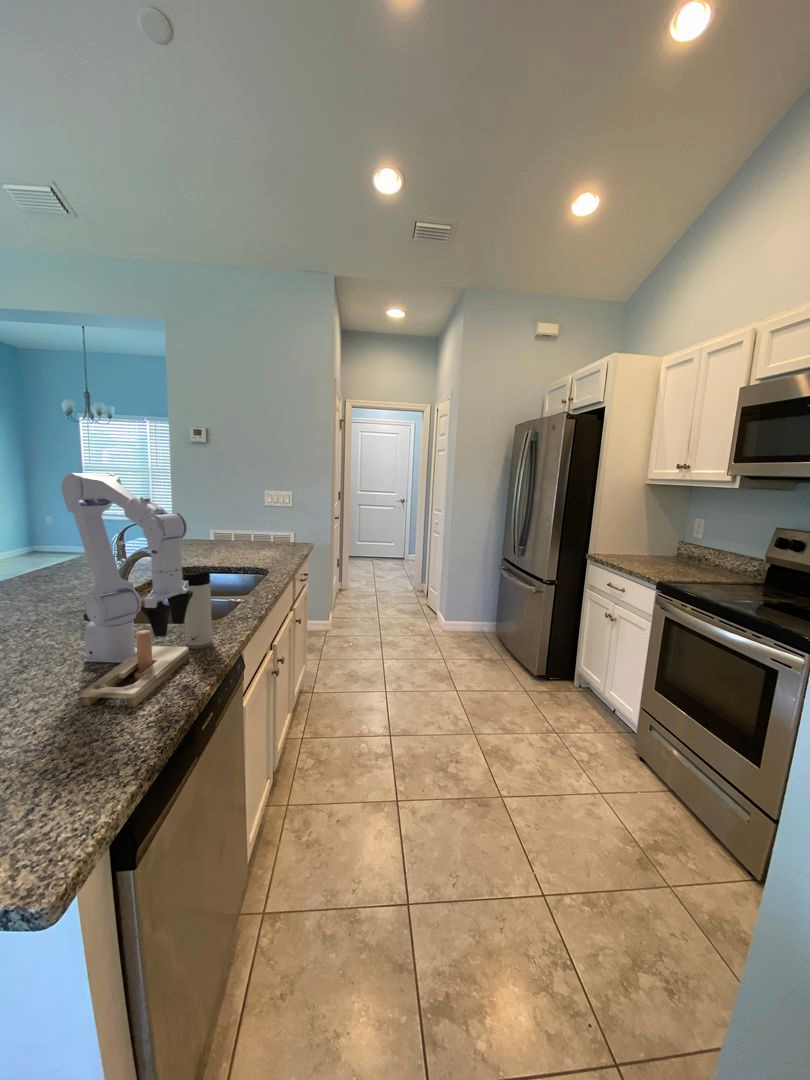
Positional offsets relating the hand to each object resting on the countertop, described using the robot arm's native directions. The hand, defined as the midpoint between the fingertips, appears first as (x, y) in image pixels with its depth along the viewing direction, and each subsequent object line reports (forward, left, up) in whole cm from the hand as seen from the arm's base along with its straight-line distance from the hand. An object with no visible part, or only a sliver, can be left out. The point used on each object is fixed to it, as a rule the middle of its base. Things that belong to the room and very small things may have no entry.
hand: (169, 629), depth 95 cm
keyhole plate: (-5, -3, -10) cm, 12 cm away
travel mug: (-1, +16, -11) cm, 19 cm away
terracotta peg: (-5, -1, -10) cm, 12 cm away
